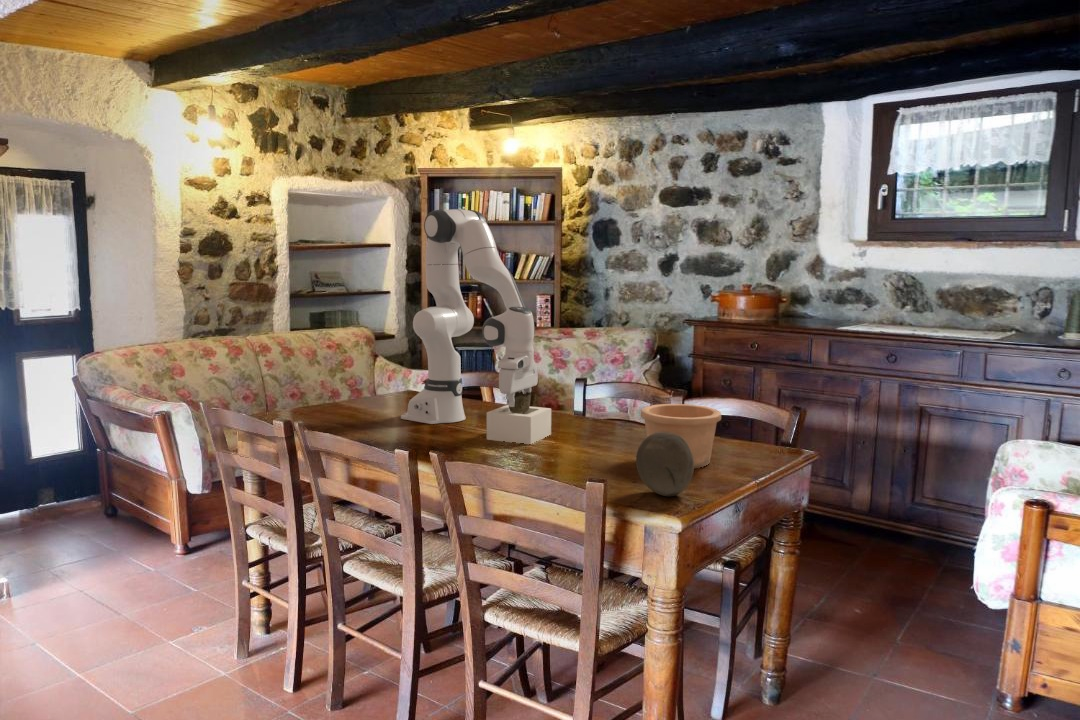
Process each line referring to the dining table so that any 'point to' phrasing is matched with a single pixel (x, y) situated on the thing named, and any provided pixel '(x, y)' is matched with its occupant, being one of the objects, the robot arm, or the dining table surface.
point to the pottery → (685, 426)
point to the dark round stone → (665, 463)
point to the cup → (521, 403)
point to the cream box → (518, 425)
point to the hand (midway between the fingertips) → (519, 404)
